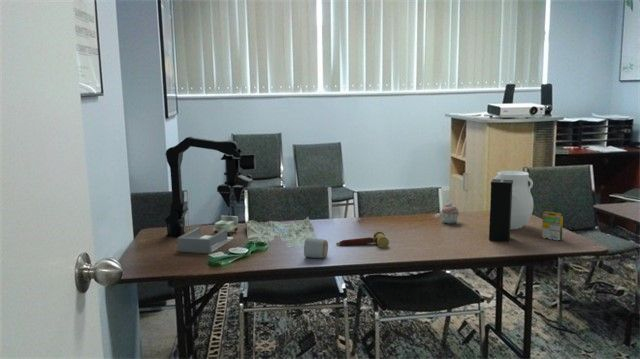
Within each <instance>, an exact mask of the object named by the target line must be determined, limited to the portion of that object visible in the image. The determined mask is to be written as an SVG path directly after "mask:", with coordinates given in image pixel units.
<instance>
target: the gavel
mask: <svg viewBox="0 0 640 359" xmlns="http://www.w3.org/2000/svg"><path fill="white" fill-rule="evenodd" d="M373 243H377V245H378V247H379V248H387V247H388V246H389V245H390V240H389V239H388V238H387V236H385V234H384V232H383V231H381V230H376V231H375V232H374V233H373V237H361V238H350V239H343V240H341V241H338V242H336V243H335V244H336V246H341V247H345V246H346V247H347V246H358V245H368V244H373Z"/></svg>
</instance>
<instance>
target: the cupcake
mask: <svg viewBox="0 0 640 359" xmlns="http://www.w3.org/2000/svg"><path fill="white" fill-rule="evenodd" d="M439 214H440V216H441V221H442V223H443V224H446V223H447V225H448V224H449V225H453V224H456V223H457V221H458V217H459V215H460V211H459V209H458V208H457V206H456V205H454V204H453V203H452V202H451V201H449V202H447V203H445V205H444V206H442V208H441V211H440V212H439Z"/></svg>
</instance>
